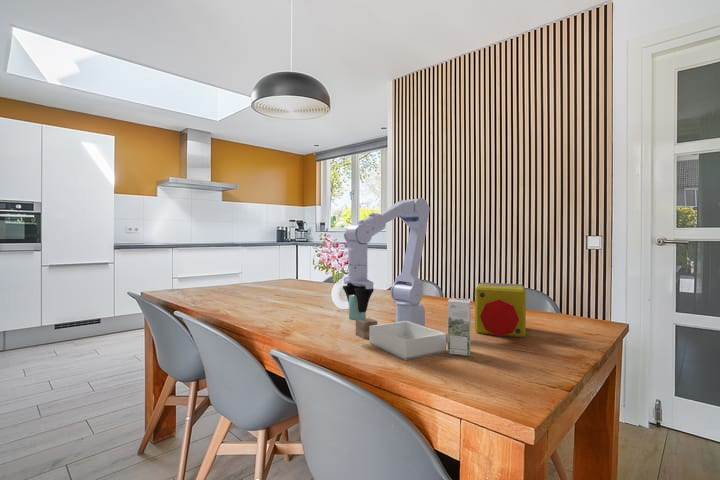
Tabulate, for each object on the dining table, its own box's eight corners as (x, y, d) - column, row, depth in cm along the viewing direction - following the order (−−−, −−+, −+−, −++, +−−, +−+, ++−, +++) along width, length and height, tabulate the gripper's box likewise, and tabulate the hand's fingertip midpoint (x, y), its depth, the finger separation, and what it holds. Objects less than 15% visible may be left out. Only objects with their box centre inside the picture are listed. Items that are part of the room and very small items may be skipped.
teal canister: (360, 316, 112) (360, 293, 112) (368, 319, 108) (368, 295, 108) (345, 317, 110) (345, 294, 110) (353, 321, 106) (353, 297, 105)
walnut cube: (369, 333, 119) (369, 317, 119) (377, 336, 115) (377, 321, 115) (355, 335, 117) (355, 319, 117) (363, 339, 112) (363, 322, 112)
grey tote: (406, 336, 115) (406, 320, 115) (446, 352, 100) (446, 333, 99) (369, 342, 108) (369, 325, 108) (405, 360, 93) (405, 340, 93)
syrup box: (470, 350, 101) (470, 298, 101) (469, 357, 95) (470, 301, 95) (449, 348, 103) (449, 296, 103) (447, 355, 97) (447, 300, 97)
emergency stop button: (472, 341, 110) (472, 291, 110) (478, 323, 133) (478, 282, 133) (527, 346, 105) (527, 294, 105) (523, 327, 127) (523, 284, 127)
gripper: (335, 263, 113) (335, 307, 113) (357, 267, 101) (357, 316, 101) (355, 262, 117) (355, 305, 117) (379, 266, 104) (379, 313, 104)
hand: (357, 310), depth 109 cm, fingers closed on teal canister, 5 cm apart
